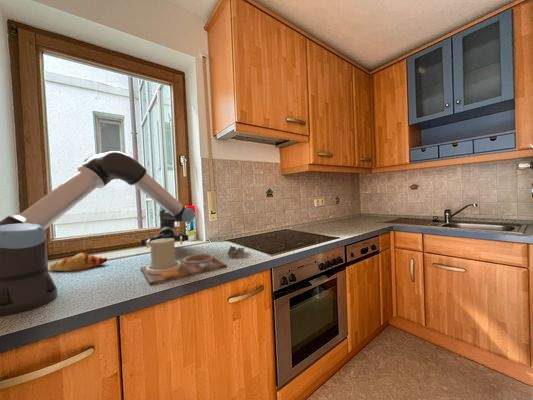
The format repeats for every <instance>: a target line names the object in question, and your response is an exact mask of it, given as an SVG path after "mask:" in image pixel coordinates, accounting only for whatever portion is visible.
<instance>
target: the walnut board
mask: <svg viewBox="0 0 533 400" xmlns="http://www.w3.org/2000/svg"><path fill="white" fill-rule="evenodd" d="M175 260H176V259H175ZM176 261H180V262H181V267H180V268H179V269H178V270H177V271H178V275H176V276H171V277H167V278H164V277H163V276H162V274H149V273H147V272H146V267H147V266H148V265H146V266H141V267H140V271H141V273H142V275H143V276H144V278H145V279H146V281H147V283H148V284H149V286H153V285H157V284H161V283H165V282H170V281H174V280H179V279H182V278H186V277H191V276H195V275H198V274H202V273H207V272H211V271H215V270H220V269H222V268H223V269H224V268H226V267H227V264H226V263H224V262H222V261H220V260H219V259H217V258H215V257H214V255H212V254H210V253H209V254H207V253H199V254H198V253H196V254H193V255H188V256H186V257H184V258H182V259H177V260H176ZM151 269H152V268H151Z"/></svg>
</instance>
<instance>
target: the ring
mask: <svg viewBox="0 0 533 400" xmlns="http://www.w3.org/2000/svg"><path fill="white" fill-rule="evenodd" d="M175 263H176V266H174V267H171V268H167V269H159V270H154V269H151V268H152V264H150V263H149V264H148V265H146V266H147V267H146V272H147V273H149V274H162V276H163V277H164V278H167V277H171V276H176V275H178V271H177V270H178V269H179V268H180V267H181V262H180V261H176V259H175Z"/></svg>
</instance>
